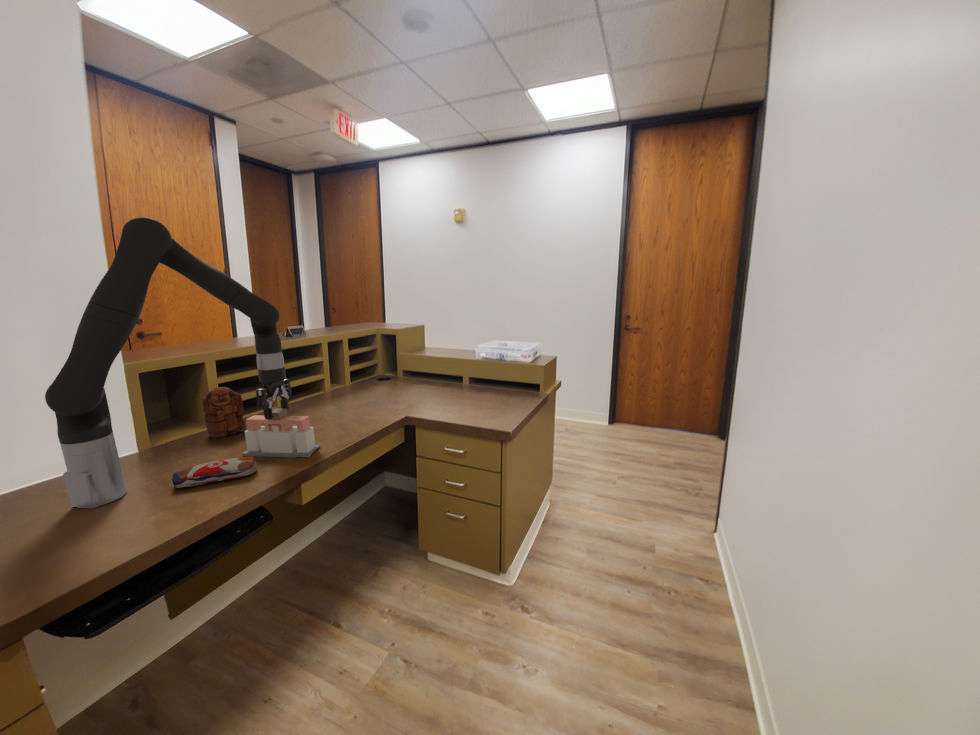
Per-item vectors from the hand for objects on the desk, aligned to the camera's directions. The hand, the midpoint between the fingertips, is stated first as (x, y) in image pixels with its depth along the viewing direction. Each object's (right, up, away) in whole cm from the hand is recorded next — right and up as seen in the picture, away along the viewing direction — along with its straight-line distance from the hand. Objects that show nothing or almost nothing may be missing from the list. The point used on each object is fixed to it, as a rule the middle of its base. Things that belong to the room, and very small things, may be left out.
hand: (277, 414), depth 122 cm
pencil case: (-9, -17, -15) cm, 24 cm away
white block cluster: (0, -13, +3) cm, 13 cm away
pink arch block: (0, -5, +1) cm, 5 cm away
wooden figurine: (-29, -10, +18) cm, 36 cm away
